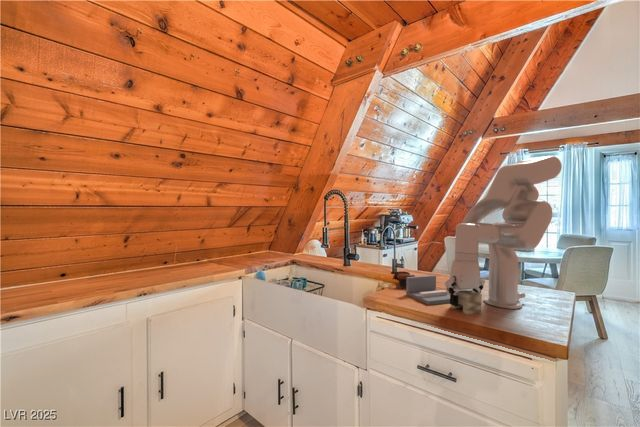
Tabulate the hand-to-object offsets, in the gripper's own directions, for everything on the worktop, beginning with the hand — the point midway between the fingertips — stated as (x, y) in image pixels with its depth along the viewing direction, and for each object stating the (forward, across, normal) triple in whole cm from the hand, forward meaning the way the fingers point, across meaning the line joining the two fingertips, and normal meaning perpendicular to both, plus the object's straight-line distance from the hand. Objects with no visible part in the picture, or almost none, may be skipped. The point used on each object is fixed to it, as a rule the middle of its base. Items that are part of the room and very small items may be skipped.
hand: (464, 304), depth 105 cm
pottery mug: (+2, +2, -33) cm, 34 cm away
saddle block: (+2, -1, 0) cm, 2 cm away
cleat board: (+2, +2, -15) cm, 15 cm away
